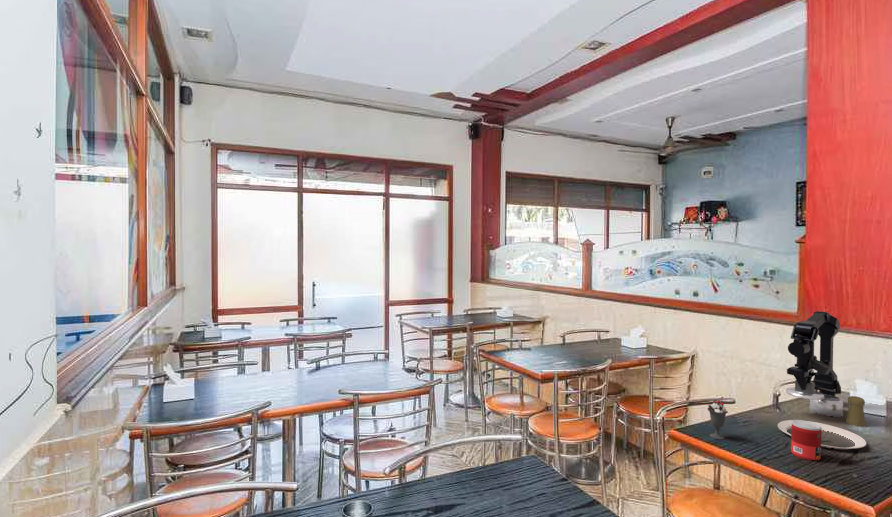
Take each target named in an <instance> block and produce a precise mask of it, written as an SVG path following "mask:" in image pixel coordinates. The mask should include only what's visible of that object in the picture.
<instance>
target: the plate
mask: <svg viewBox="0 0 892 517" xmlns="http://www.w3.org/2000/svg"><path fill="white" fill-rule="evenodd" d="M793 420H794V419H788V420H782V421H780V422H778V424H777V428H778V429H779V430H780V431H782V432H783V433H785V434H787V435H789V436H790V437H791V433H789V430H791V429H790V428H791V427H792V421H793ZM808 421H809V420H808ZM809 422H811V421H809ZM812 422H813V423H816V424H818V425H820V426H821V429H822V431H823V430H824V431H823V432H827V431H829V432H828V433H831V432H833V433H832V434H834V433H836V434H835V435H837V434H839V435H838V436H840V435H841V436H840V437H842V436H844V437H843V438H845V437H846V438H845V439H847V438H848V439H847V440H849V439H850V440H852V441H853V442H854V443H855V446H854V445H853V446H850V447H849V446H848V447H842V446H840V447H839V446H832V445H827V444H822V443H821V448H825V447H826V448H827V449H831V448H834V449H833V450H852V449H861V448H865V447H866V446H867V442H866V440H865V439H864V438H863V437H861V436H860V435H858V434H856V433H853V432H852V431H850V430H847V429H844V428H841V427H838V426H834V425H831V424H827V423H821V422H816V421H812ZM788 429H789V430H788ZM787 430H788V432H787ZM850 440H849V441H850ZM852 441H851V442H852ZM853 442H852V443H853ZM854 443H853V444H854ZM826 448H825V449H826Z"/></svg>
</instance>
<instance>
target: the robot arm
mask: <svg viewBox="0 0 892 517" xmlns="http://www.w3.org/2000/svg"><path fill="white" fill-rule="evenodd" d="M840 323H841V322H840V320H839V319H838V318H837V317H836V316H833V315H831V314H830V312H827V311H823V310H822V311H821V310H820V311H819V310H816V311H813V314H812V315H811V316H809V317H808V318H807V319H806V320H800V321H797V322H796V323H795V324H794V325H793V328H792V332H791V335H790V339H791V340H792V339H793V342H790V343H789V344H788V346H787V351H788V352H789V354H790V355H792V356H794V357H795V358H796V363H794V366H791V367H788V368H787V369H786V375H790V376H793V377H794V378H795V380H797V382H798V384H799V386H800V388H801V389H802V390H805V388H806V383H807V381H808V382H812V383H815V391H818V392H820V393H822V394H826V395H832V396H835V397H836V395H840V394H842V387H841V384H840V382H839V380H838V375H837V373H836V372H835V371H834V338H835V337H836V335H837V334H839V330H840V328H841V324H840ZM818 337H819V360H818V357H817V356H816V355H815V341H817V339H818ZM812 379H813V380H812Z"/></svg>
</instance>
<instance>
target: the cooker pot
mask: <svg viewBox="0 0 892 517" xmlns="http://www.w3.org/2000/svg"><path fill="white" fill-rule="evenodd" d="M809 411H810V412H811V413H814V414H816V413H817V415H820V414H821V415H820V416H824V415H826V416H825V417H830V416H833V417H832V418H841V416H842V417H843V416H844V414H843V413H844V399H843V398H841V397H838V396H836V395H835V396H832V395H826V394H824V399H820V400H812V399H809Z"/></svg>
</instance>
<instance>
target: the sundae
mask: <svg viewBox="0 0 892 517" xmlns="http://www.w3.org/2000/svg"><path fill="white" fill-rule="evenodd" d="M723 398H724V396H721V398H720V399H719V400H716V401H715V402H713V403H711V404H708V405H707V406H708V407H707V411H708V412H709V416H710V417H709V418H710V422H711V425H712V426H713V427H714V428H715V431H714V433H709V437H710V438H712V439H715V440H720V441H721V440H725V439H726V437H725V436H724V435H721V434H720V429H721V428H722V427H724V424H725V420H726V415H727V414H728V413H729V411H728V410H727V409H726V407H725V404H724V402H720V401H722V399H723Z"/></svg>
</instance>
